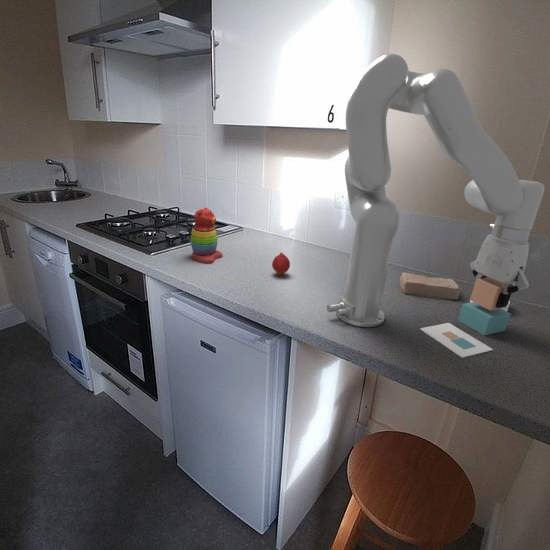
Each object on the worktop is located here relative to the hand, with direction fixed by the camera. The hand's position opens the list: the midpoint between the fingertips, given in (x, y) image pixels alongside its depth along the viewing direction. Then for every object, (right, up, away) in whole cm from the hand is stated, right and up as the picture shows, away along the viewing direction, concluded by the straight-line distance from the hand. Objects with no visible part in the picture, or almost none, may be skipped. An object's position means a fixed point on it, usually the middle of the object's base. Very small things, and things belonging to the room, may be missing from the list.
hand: (488, 300), depth 93 cm
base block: (0, -7, +3) cm, 7 cm away
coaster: (+8, -3, +15) cm, 17 cm away
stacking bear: (-80, +13, +38) cm, 90 cm away
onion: (-53, +6, +27) cm, 60 cm away
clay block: (0, -1, 0) cm, 1 cm away
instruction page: (-11, -9, -5) cm, 15 cm away
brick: (-7, +1, +22) cm, 23 cm away
